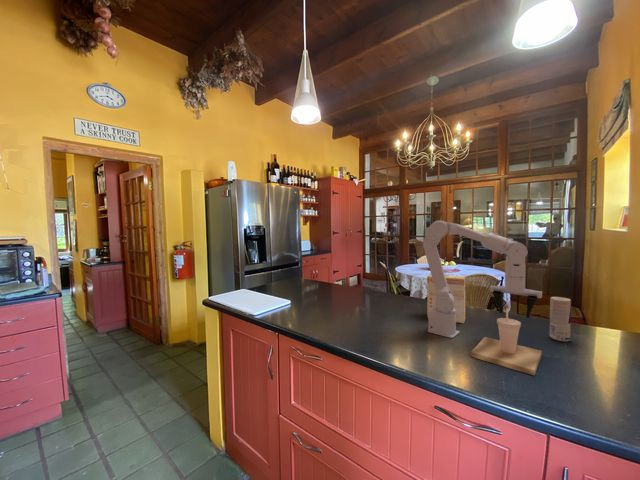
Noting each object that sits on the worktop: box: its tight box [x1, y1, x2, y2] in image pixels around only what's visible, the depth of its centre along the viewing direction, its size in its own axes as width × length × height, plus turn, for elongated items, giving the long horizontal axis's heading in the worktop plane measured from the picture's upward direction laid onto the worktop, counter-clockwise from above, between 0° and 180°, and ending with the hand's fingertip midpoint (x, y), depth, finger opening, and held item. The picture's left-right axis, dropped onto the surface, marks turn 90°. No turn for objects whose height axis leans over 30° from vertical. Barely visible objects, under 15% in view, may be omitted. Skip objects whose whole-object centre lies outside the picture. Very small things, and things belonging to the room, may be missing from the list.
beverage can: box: [549, 296, 572, 342], centre depth 97 cm, size 6×6×15 cm
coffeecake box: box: [426, 273, 466, 324], centre depth 120 cm, size 15×7×20 cm, turn 58°
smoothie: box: [496, 307, 522, 353], centre depth 85 cm, size 6×6×14 cm
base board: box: [470, 336, 543, 376], centre depth 85 cm, size 16×16×2 cm
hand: (514, 314), depth 93 cm, fingers open, 7 cm apart
